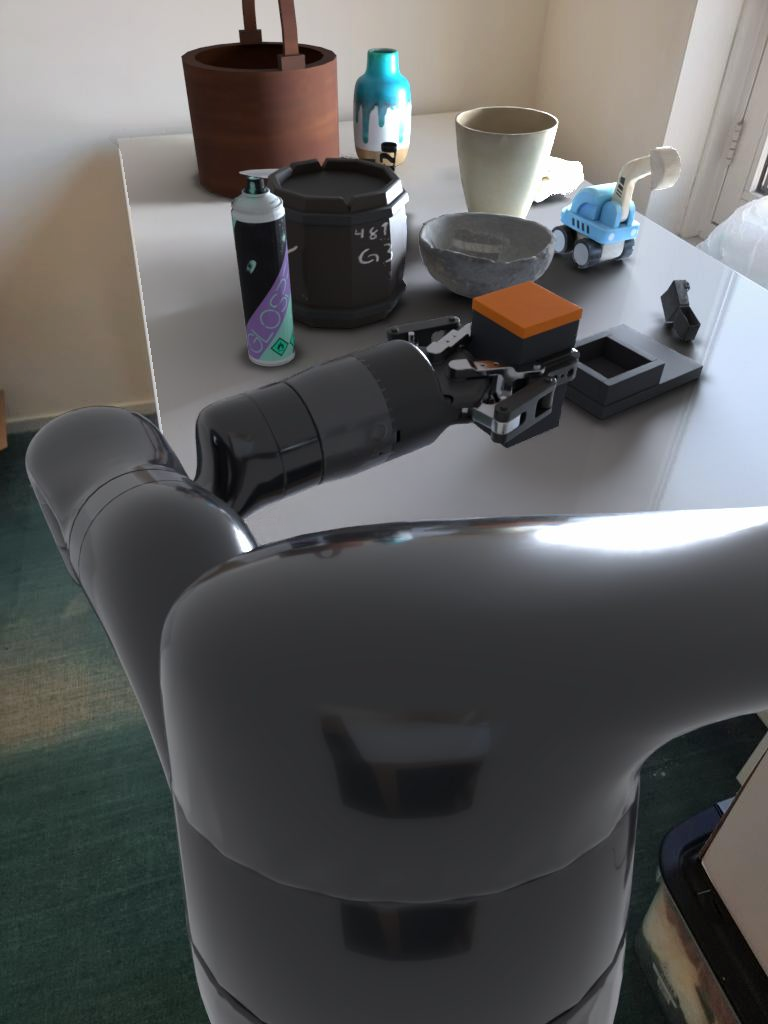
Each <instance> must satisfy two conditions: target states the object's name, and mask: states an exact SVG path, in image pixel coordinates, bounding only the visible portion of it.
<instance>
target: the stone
mask: <svg viewBox="0 0 768 1024" xmlns="http://www.w3.org/2000/svg"><path fill="white" fill-rule="evenodd" d="M584 180H585V175H584V173H583V165H582V164H581V162H579V161H570V160H565V159H562V158H560V157H556V156H555V157H554V156H552V155H549V158H548V161H547V164H546V167H545V170H544V173H543V176H542V179H541V182H540V184H539V187H538V189H537V192H536V194H535V197H534V199H533V201H532V202H536V203H540V202H543V201H544V200H545V199H547V198H548V197H551V196H555V195H556V194H557V195H559V194H562V195H567V194H566V193H569V192H570V193H573V192H574V191H575V190H576V189H577V188H578V187H579V185H580V184H582V182H583V183H584ZM574 189H575V190H574ZM573 190H574V191H573ZM570 193H569V194H570ZM552 194H554V195H552ZM550 195H551V196H550Z"/></svg>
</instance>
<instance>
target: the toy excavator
mask: <svg viewBox="0 0 768 1024" xmlns="http://www.w3.org/2000/svg"><path fill="white" fill-rule="evenodd" d="M681 172H682V160H681V156H680V153H679V151H678V150H677V149H676V148H675V147H674V146H671V145H665V146H658V147H652V148H650V149H649V154H648V155H645V156H641V157H638V158H634V159H631V160H629V161H627V162H626V163H624V164H623V166H622V168H621V170H620V172H619V175H618V177H617V180H616V182H610V183H602V184H597V185H590V186H585V187H583V188H581V189H580V190H579V191H578V192H577V193H576V194H575V196H574V197H573V199H572V202H571V203H570V204H568V205H567V206H565V207H564V208H562V210H561V213H560V218H559V221H560V223H562V224H560V225H557V226H554V227H553V228H552V229H551V231H552V233H553V234H554V235H555V237H556V246H555V252H554V253H558V254H560V255H566V254H569V253H571V257H572V259H573V263H574V264H576V263H577V265H578V266H577V268H578V269H586V268H591V267H595V266H596V265H598V264H599V263H600V262H602V261H606V260H607V261H608V260H613V259H614V261H621V260H624V259H628V258H629V257H631V255H632V254H633V252H634V246H635V244H636V238H637V237H638V233H639V229H640V226H641V224H640V223H639V222H638V221H637V220H635V215H636V204H635V202H634V201H633V200H632V199H633V194H634V189H635V185H636V183H637V182H638V180H639V181H640V179H641V180H642V179H643V178H645V177H648V176H650V179H651V180H650V184H651V185H650V191H652V192H654V191H660V190H661V191H662V190H666V189H669V188H672V187H673V186H675V184H676V183H677V182H678V181H679V178H680V175H681Z"/></svg>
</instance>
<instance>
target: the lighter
mask: <svg viewBox="0 0 768 1024" xmlns="http://www.w3.org/2000/svg"><path fill="white" fill-rule="evenodd" d="M690 290H691V286H690V283H689V281H687V279H673V280H672V282H671V283H670V285H669V286H668V288H667V290H665V291H664V292H663V294H662V295H660V296H659V297H660V302H661V307H662V311H663V316H664V320H665V323H672V324H673V328H674V330H675V332H676V334H677V336H678V337H679V339H681V340H682V341H684V342H685V341H694V340H696V336H697V334H698V332H699V330H700V328H701V325H702V323H701V322H700V320H699V318H698V317H697V315H696V313H695V312H694V310H693V309H692V307H691V306H690V300H689V295H688V293H689V291H690Z"/></svg>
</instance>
